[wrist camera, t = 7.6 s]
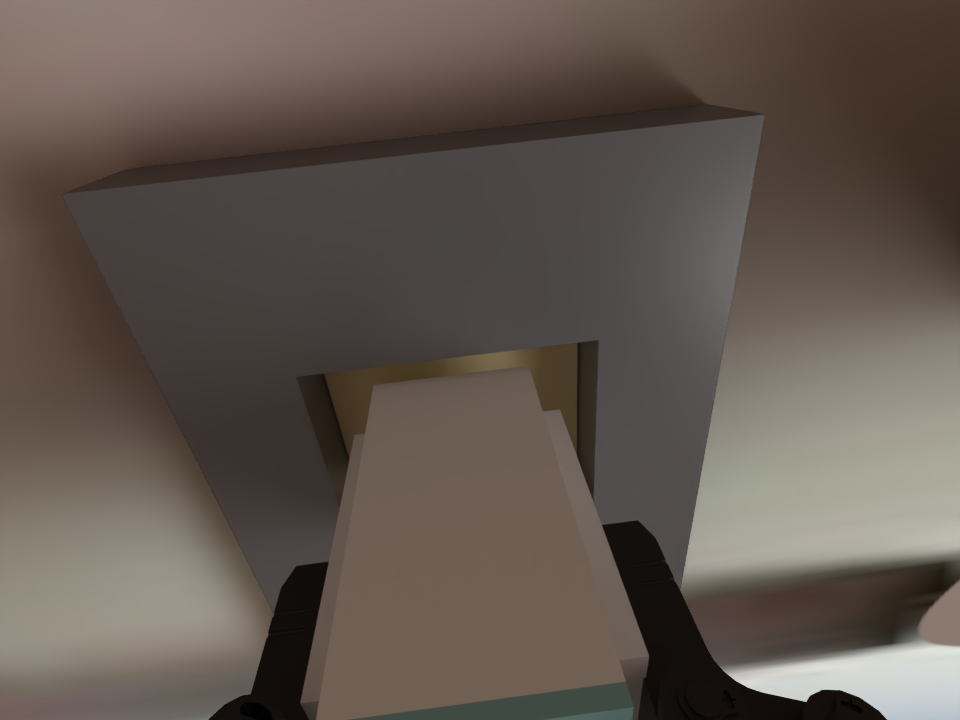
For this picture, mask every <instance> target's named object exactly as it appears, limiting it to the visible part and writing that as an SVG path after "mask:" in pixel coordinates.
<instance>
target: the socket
mask: <svg viewBox="0 0 960 720" xmlns="http://www.w3.org/2000/svg"><path fill="white" fill-rule="evenodd" d="M764 118H765V114H759V113H754V112H748V111H742V110H737V109H731V108H726V107H720V106H714V105H709V104H705V105H696V106H688V107H679V108H670V109H661V110H652V111H643V112H634V113H625V114H616V115H608V116H599V117H590V118H581V119H572V120H563V121H554V122H545V123H536V124H527V125H519V126H510V127H501V128H492V129H483V130H474V131H465V132H456V133H447V134H438V135H430V136H421V137H412V138H403V139H394V140H385V141H376V142H367V143H358V144H350V145H341V146H332V147H323V148H314V149H305V150H296V151H287V152H278V153H269V154H261V155H252V156H243V157H234V158H225V159H216V160H207V161H198V162H189V163H180V164H172V165H163V166H154V167H145V168H136V169H127V170H124V171H121V172H119V173H116V174H114V175H111V176H108V177H106V178H103V179H100V180H98V181H95V182H92V183H90V184H87V185H84V186H82V187H79V188H76V189H74V190H71V191H68V192H66V193H63V194H61V195H62V197H63V199H64V201H65V203H66V205H67V207H68V209H69V211H70V213H71V215H72V217H73V218H74V220H75V222H76V224H77V226H78V228H79V230H80V232H81V234H82V236H83V238H84V240H85V242H86V244H87V246H88V248H89V250H90V252H91V254H92V256H93V258H94V260H95V262H96V264H97V266H98V268H99V270H100V272H101V274H102V276H103V278H104V280H105V282H106V284H107V285H108V287H109V289H110V291H111V293H112V295H113V297H114V299H115V301H116V303H117V305H118V307H119V309H120V311H121V313H122V315H123V317H124V319H125V321H126V323H127V325H128V327H129V329H130V331H131V333H132V335H133V337H134V339H135V341H136V343H137V345H138V347H139V349H140V351H141V352H142V354H143V356H144V358H145V360H146V362H147V364H148V366H149V368H150V370H151V372H152V374H153V376H154V378H155V380H156V382H157V384H158V386H159V388H160V390H161V392H162V394H163V396H164V398H165V400H166V402H167V404H168V406H169V408H170V410H171V412H172V414H173V416H174V418H175V419H176V421H177V423H178V425H179V427H180V429H181V431H182V433H183V435H184V437H185V439H186V441H187V443H188V445H189V447H190V449H191V451H192V453H193V455H194V457H195V459H196V461H197V463H198V465H199V467H200V469H201V471H202V473H203V475H204V477H205V479H206V481H207V483H208V485H209V486H210V488H211V490H212V492H213V494H214V496H215V498H216V500H217V502H218V504H219V506H220V508H221V510H222V512H223V514H224V516H225V518H226V520H227V522H228V524H229V526H230V528H231V530H232V532H233V534H234V536H235V538H236V540H237V542H238V544H239V546H240V548H241V550H242V551H243V553H244V555H245V557H246V559H247V561H248V563H249V565H250V567H251V569H252V571H253V573H254V575H255V577H256V579H257V581H258V583H259V585H260V587H261V589H262V591H263V593H264V595H265V597H266V599H267V601H268V603H269V605H270V607H271V609H272V611H273V613H274V611H275V607H276V604H277V600H278V596H279V593H280V589H281V587H282V586H283V584H284V583H285V581H286V580H287V578H288V577H289V576H290V574H291V573H292V571H293V570H294V568H295V567H296V566H299V565H306V564H314V563H322V562H329V559H330V554H331V549H332V544H333V539H334V534H335V529H336V524H337V519H338V514H339V509H340V504H341V499H342V495H343V490H344V485H345V480H346V475H347V470H348V465H349V460H350V455H351V450H352V445H353V440H354V435H358V434H365V432H366V426H367V420H368V414H369V408H370V403H371V397H372V391H373V385H377V384H385V383H393V382H402V381H410V380H418V379H426V378H434V377H442V376H450V375H458V374H466V373H474V372H482V371H490V370H498V369H506V368H515V367H523V366H529V369H530V372H531V375H532V378H533V382H534V385H535V388H536V391H537V395H538V398H539V401H540V404H541V408H542V411H551V410H559V409H560V411H561V414H562V416H563V419H564V422H565V425H566V427H567V430H568V433H569V436H570V439H571V441H572V444H573V447H574V450H575V452H576V455H577V458H578V461H579V463H580V466H581V469H582V472H583V475H584V477H585V480H586V483H587V486H588V488H589V491H590V494H591V497H592V499H593V502H594V505H595V508H596V510H597V513H598V516H599V519H600V522H601V524H602V525H605V524H612V523H620V522H628V521H636V520H638V521H639V522H640V523H641V524H642V525H643V526H644V527H645V528H646V529H647V530H648V531H649V532H650V533H651V534H652V535H653V536H654V537H655V538H656V540H657V542H658V544H659V546H660V548H661V550H662V553H663V555H664V557H665V559H666V563H667V564H668V566H669V568H670V570H671V572H672V574H673V576H674V581H675V582H676V583H677V585H678V587H679V589H681V583H682V577H683V572H684V566H685V561H686V555H687V549H688V544H689V538H690V533H691V527H692V521H693V516H694V510H695V505H696V499H697V493H698V488H699V482H700V477H701V471H702V465H703V460H704V454H705V448H706V443H707V437H708V432H709V426H710V420H711V415H712V409H713V404H714V398H715V392H716V387H717V381H718V376H719V370H720V364H721V359H722V353H723V348H724V342H725V336H726V331H727V325H728V319H729V314H730V308H731V303H732V297H733V291H734V286H735V280H736V275H737V269H738V263H739V258H740V252H741V247H742V241H743V235H744V230H745V224H746V219H747V213H748V207H749V202H750V196H751V190H752V185H753V179H754V174H755V168H756V162H757V157H758V151H759V146H760V140H761V134H762V129H763V123H764Z"/></svg>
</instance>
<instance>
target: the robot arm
mask: <svg viewBox="0 0 960 720" xmlns="http://www.w3.org/2000/svg"><path fill="white" fill-rule="evenodd" d="M543 414H544V417H545V421H546V424H547V427H548V430H549V434H550V437H551V440H552V443H553V447H554V450H555V453H556V456H557V460H558V463H559V466H560V469H561V473H562V476H563V479H564V482H565V486H566V489H567V492H568V495H569V499H570V502H571V505H572V508H573V512H574V515H575V518H576V521H577V525H578V528H579V531H580V534H581V538H582V541H583V544H584V547H585V550H586V554H587V557H588V560H589V563H590V567H591V570H592V573H593V576H594V580H595V583H596V586H597V589H598V593H599V596H600V599H601V602H602V606H603V609H604V612H605V615H606V619H607V622H608V625H609V628H610V632H611V635H612V638H613V641H614V645H615V648H616V651H617V654H618V658H619V661H620V664H621V667H622V671H623V674H624V677H625V680H626V684H627V687H628V690H629V693H630V697H631V700H632V703H633V706H634V709H633V717H632V720H887V719H886V718H885V717H884V716H883V715H882V714H881V713H880V712H879V711H878V710H877V709H875V708H874V707H872V706H871V705H869V704H868V703H867V702H865V701H864V700H862V699H861V698H859V697H857V696H854V695H851V694H848V693H846V692H843V691H840V690H821V691H819V692H817V693H815V694H813V695H811V696H810V697H809V699H808V700H807V702H803V701H799V700H794V699H789V698H785V697H780V696H775V695H771V694H766V693H762V692H759V691H756V690H753V689H750V688H747V687H746V686H744V685H742V684H740V683H738V682H736V681H735V680H734V679H732V678H731V677H730V676H729V675H727V674H726V673H725V672H724V671H723V670H722V669H721V668H720V667H719V666H718V665H717V663H716V662H715V661H714V660H713V658H712V656H711V655H710V653H709V651H708V650H707V648H706V645H705V643H704V641H703V639H702V637H701V635H700V632H699V630H698V628H697V626H696V624H695V622H694V619H693V617H692V615H691V613H690V611H689V609H688V607H687V604H686V602H685V600H684V598H683V596H682V594H681V591H680V589H679V587H678V585H677V583H676V582H675V581H674V576H673V574H672V572H671V570H670V568H669V566H668V564H667V563H666V559H665V557H664V555H663V553H662V550H661V548H660V546H659V544H658V542H657V540H656V538H655V537H654V536H653V535H652V534H651V533H650V532H649V531H648V530H647V529H646V528H645V527H644V526H643V525H642V524H641V523H640V522H639V521H638V520H636V521H628V522H620V523H612V524H605V525H602V524H601V522H600V519H599V516H598V513H597V510H596V508H595V505H594V502H593V499H592V497H591V494H590V491H589V488H588V486H587V483H586V480H585V477H584V475H583V472H582V469H581V466H580V463H579V461H578V458H577V455H576V452H575V450H574V447H573V444H572V441H571V439H570V436H569V433H568V430H567V427H566V425H565V422H564V419H563V416H562V414H561V411H560V409H559V410H551V411H543ZM364 437H365V434H358V435H354V440H353V445H352V450H351V455H350V460H349V465H348V470H347V475H346V480H345V485H344V490H343V495H342V499H341V504H340V509H339V514H338V519H337V524H336V529H335V534H334V539H333V544H332V549H331V554H330V559H329V562H322V563H314V564H306V565H299V566H296V567H295V568H294V570H293V571H292V573H291V574H290V576H289V577H288V578H287V580H286V581H285V583H284V584H283V586H282V587H281V589H280V593H279V596H278V600H277V604H276V607H275V611H274V617H273V618H272V621H271V625H270V628H269V632H268V633H269V636H268V638H267V639H266V643H265V646H264V650H263V653H262V657H261V660H260V664H259V667H258V671H257V674H256V678H255V681H254V685H253V689H252V692H251V694H250V695H243V696H240V697H238V698H236V699H234V700H232V701H231V702H229V703H227V704H225V705H224V706H223V707H222V708H220V709H219V710H218V711H217V712H216V713H215V714H214V715H213V716H212V717H211V718H210V719H209V720H316V716H317V710H318V705H319V699H320V693H321V687H322V681H323V676H324V670H325V664H326V658H327V652H328V646H329V641H330V635H331V629H332V623H333V617H334V612H335V606H336V600H337V594H338V588H339V583H340V577H341V571H342V565H343V559H344V554H345V548H346V542H347V536H348V530H349V525H350V519H351V513H352V507H353V501H354V495H355V490H356V484H357V478H358V472H359V466H360V461H361V455H362V449H363V443H364Z"/></svg>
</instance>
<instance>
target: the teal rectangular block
mask: <svg viewBox="0 0 960 720" xmlns="http://www.w3.org/2000/svg"><path fill="white" fill-rule="evenodd" d="M633 709H634V706H633V703H632V700H631V697H630V693H629V690H628V687H627V684H626V680H625V677H624V674H623V671H622V667H621V664H620V661H619V658H618V654H617V651H616V648H615V645H614V641H613V638H612V635H611V632H610V628H609V625H608V622H607V619H606V615H605V612H604V609H603V606H602V602H601V599H600V596H599V593H598V589H597V586H596V583H595V580H594V576H593V573H592V570H591V567H590V563H589V560H588V557H587V554H586V550H585V547H584V544H583V541H582V538H581V534H580V531H579V528H578V525H577V521H576V518H575V515H574V512H573V508H572V505H571V502H570V499H569V495H568V492H567V489H566V486H565V482H564V479H563V476H562V473H561V469H560V466H559V463H558V460H557V456H556V453H555V450H554V447H553V443H552V440H551V437H550V434H549V430H548V427H547V424H546V421H545V417H544V414H543V411H542V408H541V404H540V401H539V398H538V395H537V391H536V388H535V385H534V382H533V378H532V375H531V372H530V369H529V366H523V367H515V368H506V369H498V370H490V371H482V372H474V373H466V374H458V375H450V376H442V377H434V378H426V379H418V380H410V381H402V382H393V383H385V384H377V385H373V391H372V397H371V403H370V408H369V414H368V420H367V426H366V432H365V437H364V443H363V449H362V455H361V461H360V466H359V472H358V478H357V484H356V490H355V495H354V501H353V507H352V513H351V519H350V525H349V530H348V536H347V542H346V548H345V554H344V559H343V565H342V571H341V577H340V583H339V588H338V594H337V600H336V606H335V612H334V617H333V623H332V629H331V635H330V641H329V646H328V652H327V658H326V664H325V670H324V676H323V681H322V687H321V693H320V699H319V705H318V710H317V716H316V720H632V717H633Z"/></svg>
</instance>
